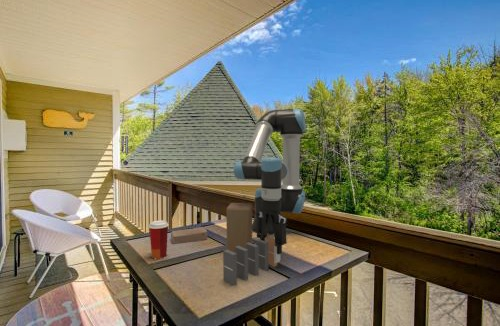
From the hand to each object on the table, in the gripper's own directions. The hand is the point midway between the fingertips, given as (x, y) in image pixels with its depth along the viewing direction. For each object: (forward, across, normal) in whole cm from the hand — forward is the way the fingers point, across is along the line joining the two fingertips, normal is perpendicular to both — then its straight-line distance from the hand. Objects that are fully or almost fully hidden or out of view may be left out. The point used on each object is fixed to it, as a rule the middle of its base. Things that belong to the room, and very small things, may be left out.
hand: (270, 259), depth 99 cm
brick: (+2, -46, -8) cm, 47 cm away
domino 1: (+2, 0, -20) cm, 20 cm away
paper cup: (+2, -36, -28) cm, 46 cm away
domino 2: (+2, 0, -15) cm, 15 cm away
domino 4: (+2, 0, -5) cm, 5 cm away
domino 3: (+2, 0, -10) cm, 10 cm away
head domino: (+2, 0, 0) cm, 2 cm away
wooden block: (+2, -18, 0) cm, 18 cm away
